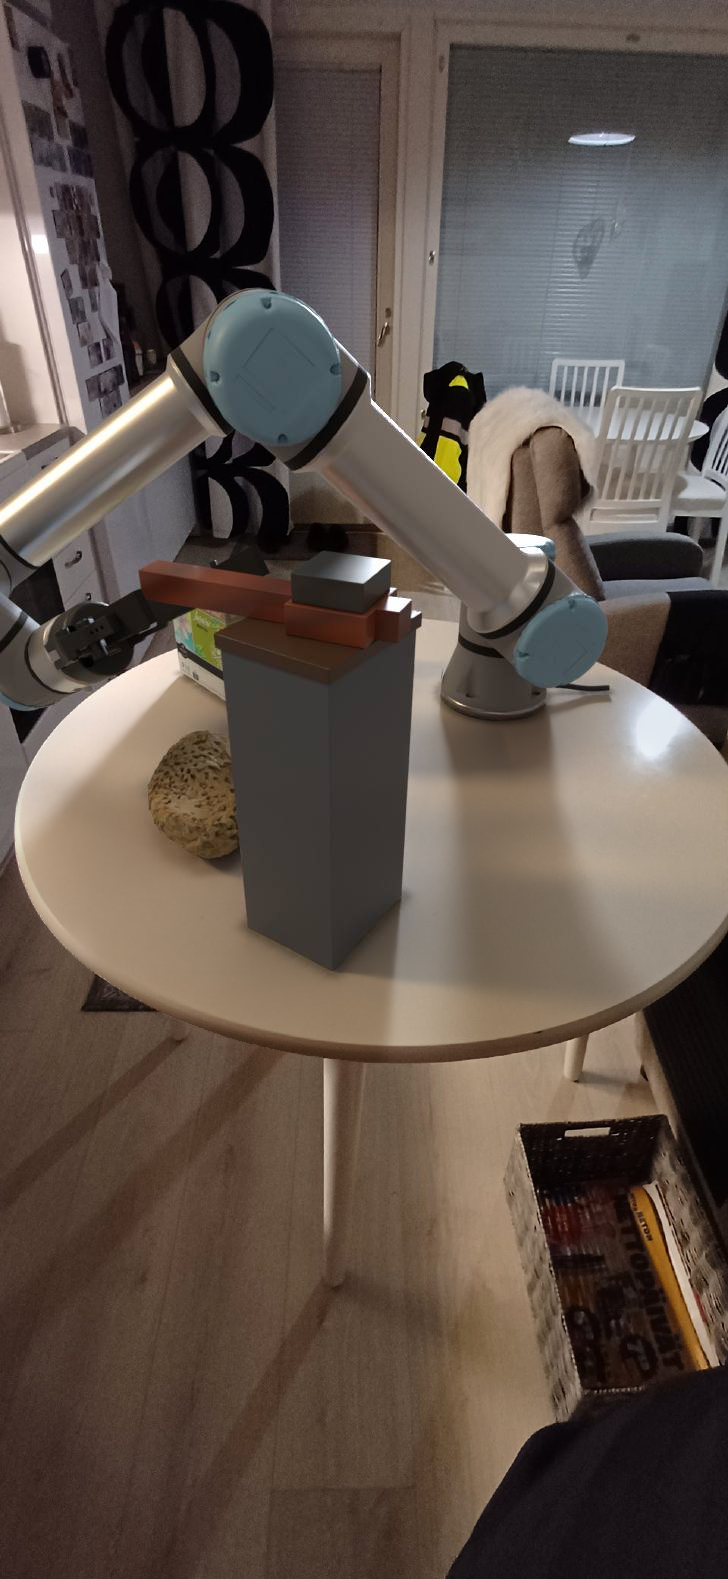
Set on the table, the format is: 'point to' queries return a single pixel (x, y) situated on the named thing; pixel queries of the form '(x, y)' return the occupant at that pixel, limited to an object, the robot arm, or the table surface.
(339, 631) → the brush
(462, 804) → the table surface
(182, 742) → the sponge
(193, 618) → the tea box
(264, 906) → the pedestal
